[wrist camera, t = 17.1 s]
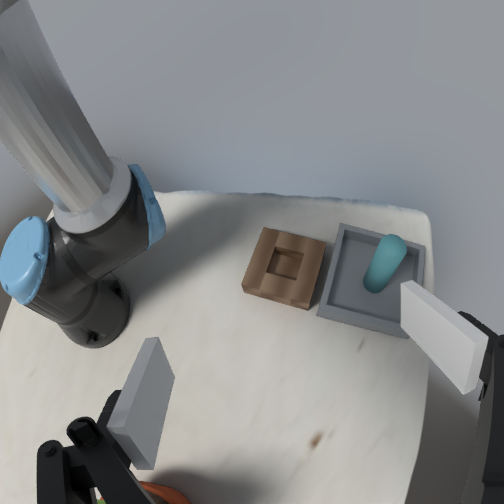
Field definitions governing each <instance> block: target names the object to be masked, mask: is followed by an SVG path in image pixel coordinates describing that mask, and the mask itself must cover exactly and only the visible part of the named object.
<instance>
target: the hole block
mask: <svg viewBox="0 0 504 504" xmlns="http://www.w3.org/2000/svg"><path fill="white" fill-rule="evenodd" d="M325 247H326V242H322V241H318V240H314V239H310V238H306V237H302V236H298V235H294V234H290V233H286V232H282V231H278V230H274V229H269V228H265V227H263V230H262V233H261V235H260V238H259V240H258V243H257V245H256V248H255V250H254V253H253V255H252V258H251V261H250V263H249V266H248V268H247V271H246V273H245V276H244V278H243V281H242V283H241V285H242V288H243V291H244V292H245V293H248V294H252V295H255V296H258V297H262V298H265V299H269V300H272V301H276V302H279V303H283V304H286V305H290V306H294V307H297V308H301V309H304V310H308V309H309V306H310V302H311V299H312V296H313V292H314V289H315V285H316V282H317V278H318V275H319V271H320V267H321V264H322V260H323V256H324V252H325Z"/></svg>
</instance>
